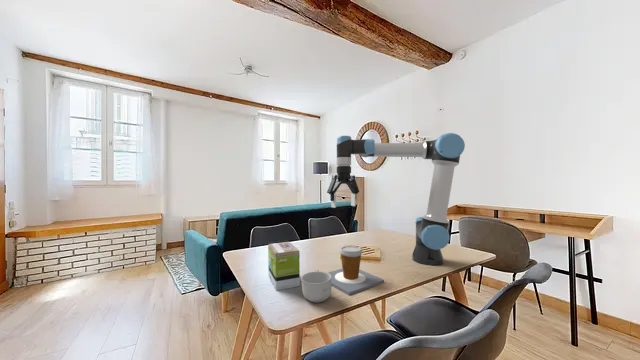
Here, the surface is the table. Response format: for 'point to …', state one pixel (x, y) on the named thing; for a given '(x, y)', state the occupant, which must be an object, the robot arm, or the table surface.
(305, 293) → the teacup
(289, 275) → the tea box
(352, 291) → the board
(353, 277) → the disposable coffee cup
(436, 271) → the table surface
